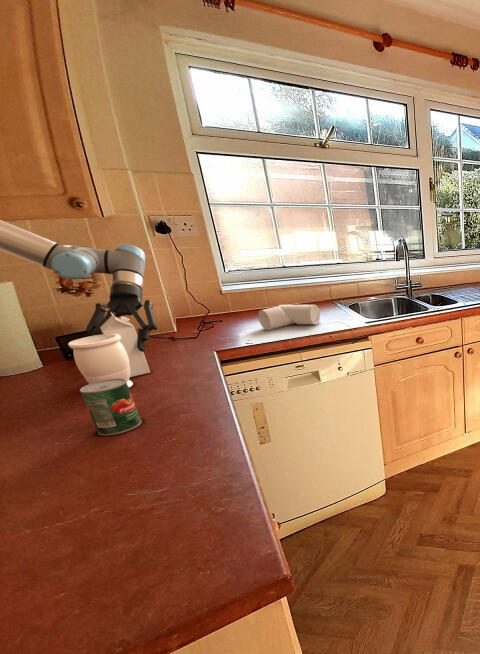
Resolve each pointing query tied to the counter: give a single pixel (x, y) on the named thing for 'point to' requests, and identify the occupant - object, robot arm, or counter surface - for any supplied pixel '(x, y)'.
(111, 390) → the canned tomato
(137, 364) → the milk carton
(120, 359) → the jar
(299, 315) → the l-shaped cylinder
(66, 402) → the counter surface
